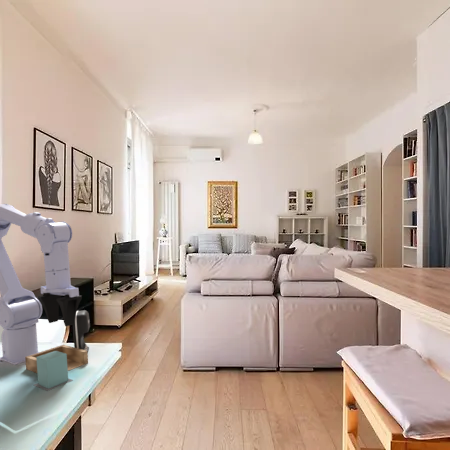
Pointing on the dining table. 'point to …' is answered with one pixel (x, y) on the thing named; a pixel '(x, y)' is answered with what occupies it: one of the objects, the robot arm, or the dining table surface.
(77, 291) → the robot arm
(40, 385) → the coaster
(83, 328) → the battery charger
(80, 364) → the crate
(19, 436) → the dining table surface
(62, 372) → the block
